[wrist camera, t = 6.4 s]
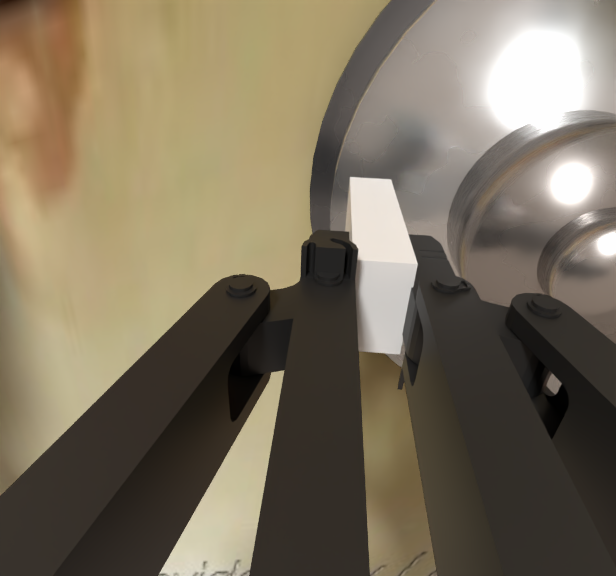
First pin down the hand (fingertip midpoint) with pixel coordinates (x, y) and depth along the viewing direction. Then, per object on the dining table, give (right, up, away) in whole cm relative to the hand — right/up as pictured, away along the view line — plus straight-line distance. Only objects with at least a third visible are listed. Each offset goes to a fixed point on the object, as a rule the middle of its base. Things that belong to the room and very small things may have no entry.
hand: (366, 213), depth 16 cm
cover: (+7, 0, +1) cm, 7 cm away
